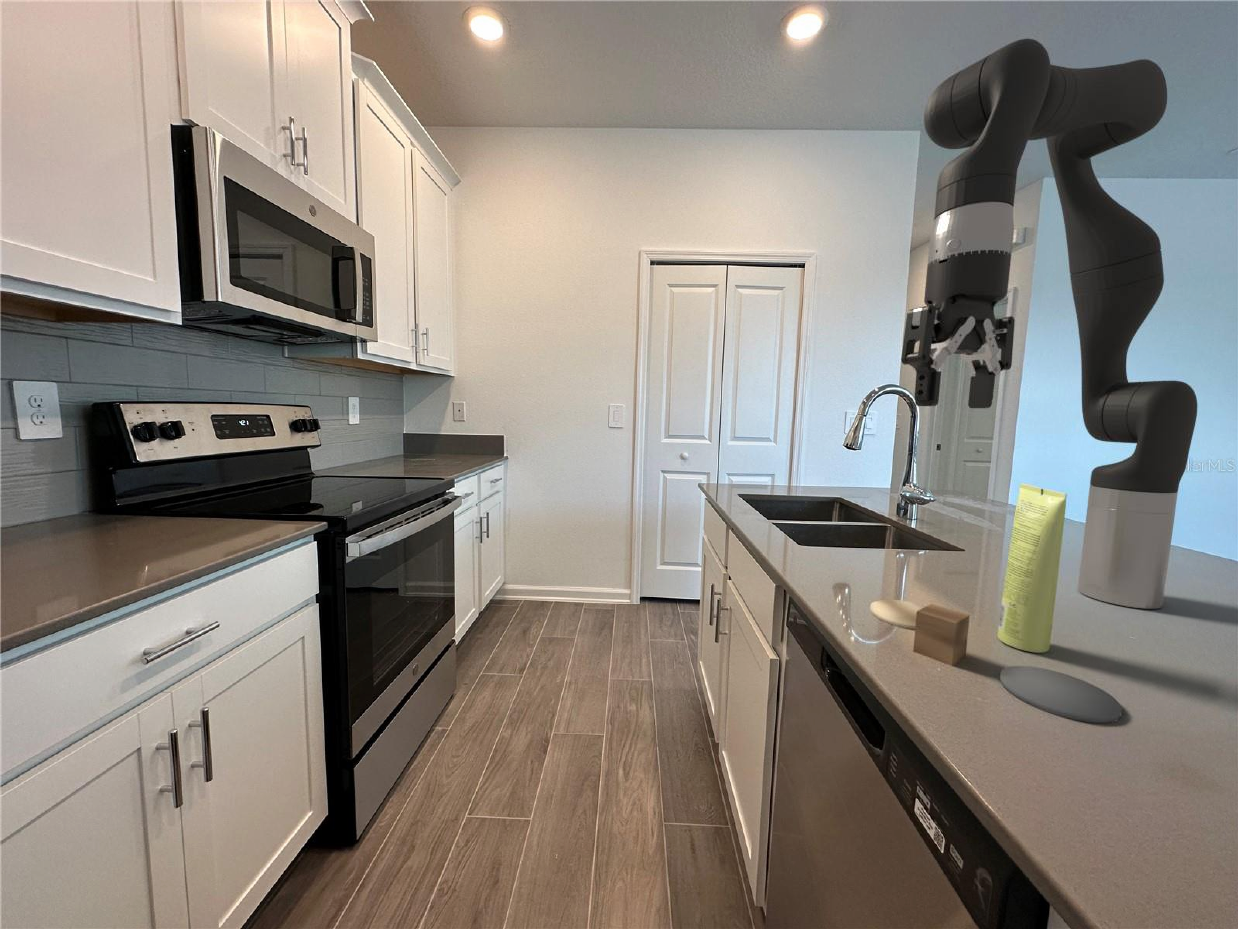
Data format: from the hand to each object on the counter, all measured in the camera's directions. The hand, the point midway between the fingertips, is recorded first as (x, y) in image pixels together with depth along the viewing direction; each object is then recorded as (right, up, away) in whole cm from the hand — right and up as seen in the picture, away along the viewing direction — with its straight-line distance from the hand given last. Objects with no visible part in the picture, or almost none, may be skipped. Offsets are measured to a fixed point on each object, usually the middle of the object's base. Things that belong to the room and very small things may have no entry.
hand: (953, 407), depth 55 cm
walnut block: (0, -29, +2) cm, 29 cm away
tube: (+12, -29, +5) cm, 31 cm away
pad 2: (+6, -30, -6) cm, 31 cm away
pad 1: (+2, -28, +13) cm, 30 cm away
